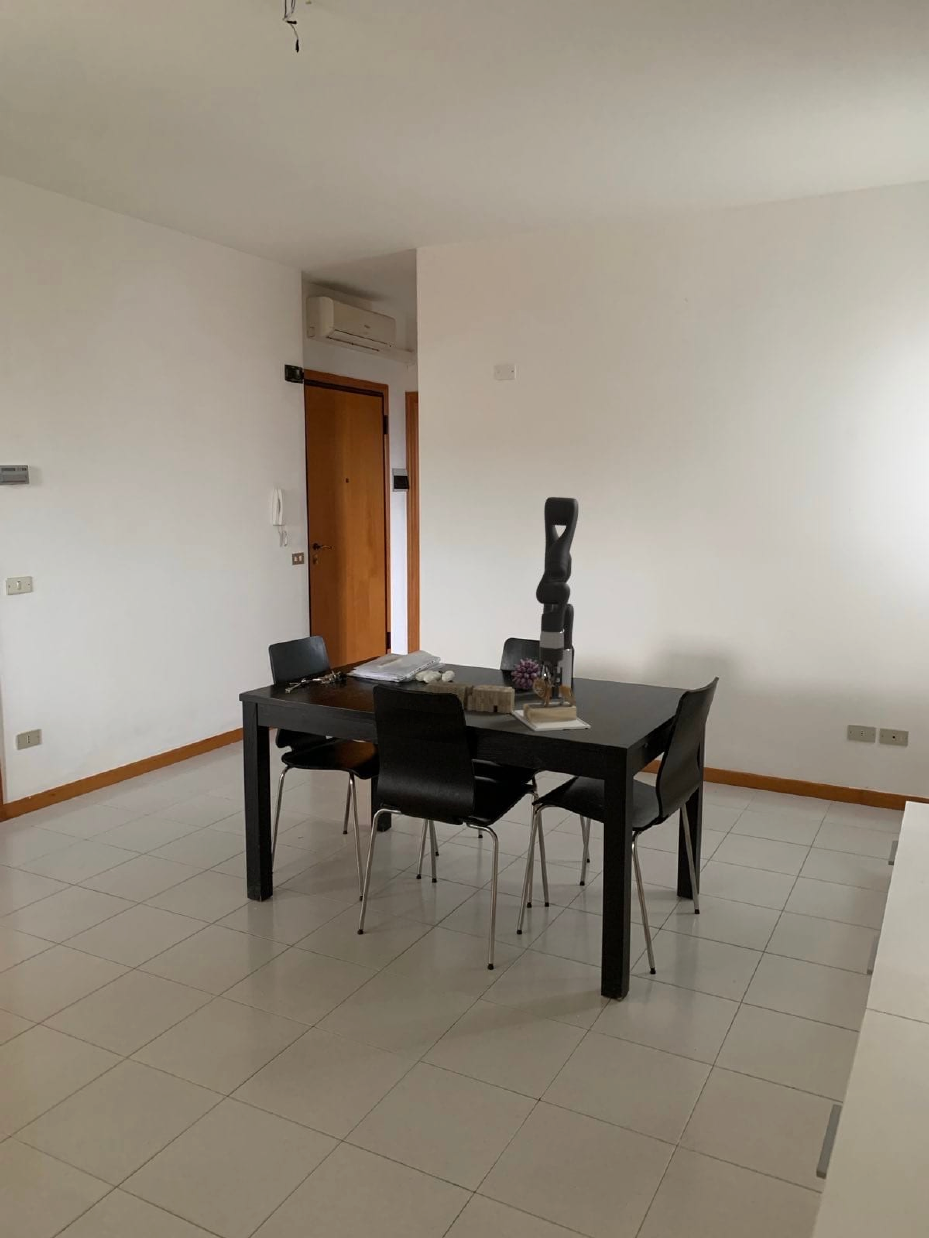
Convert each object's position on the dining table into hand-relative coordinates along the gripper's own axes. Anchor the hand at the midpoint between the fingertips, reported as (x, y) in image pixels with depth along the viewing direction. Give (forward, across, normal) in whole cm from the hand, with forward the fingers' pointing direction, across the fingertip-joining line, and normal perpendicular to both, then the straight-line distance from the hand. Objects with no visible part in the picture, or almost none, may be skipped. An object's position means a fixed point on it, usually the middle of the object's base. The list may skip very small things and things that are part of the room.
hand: (550, 695), depth 289 cm
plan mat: (+8, 0, 0) cm, 8 cm away
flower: (+8, -46, +8) cm, 47 cm away
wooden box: (+8, 0, 0) cm, 8 cm away
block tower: (+9, -22, -20) cm, 31 cm away
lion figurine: (+3, +1, +1) cm, 4 cm away
